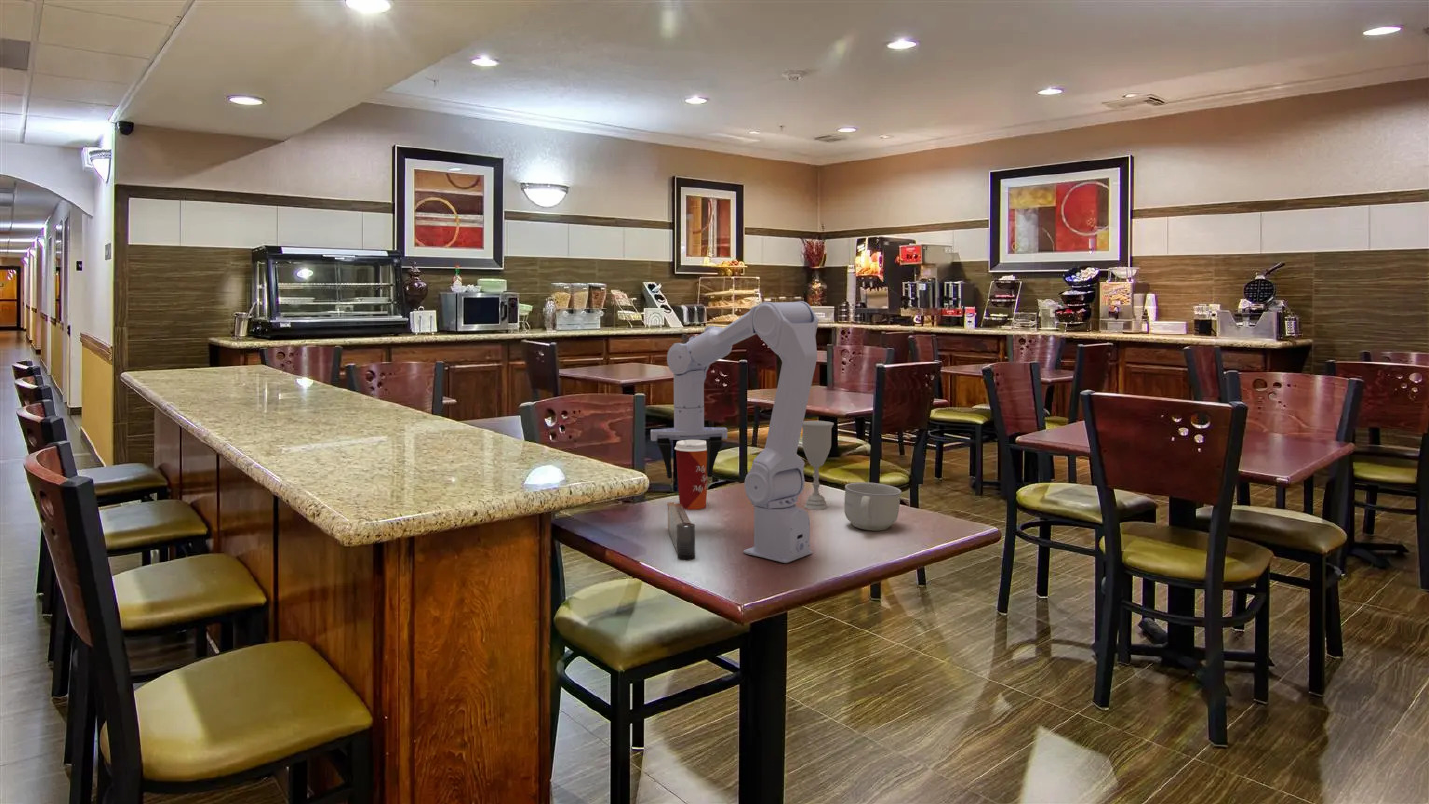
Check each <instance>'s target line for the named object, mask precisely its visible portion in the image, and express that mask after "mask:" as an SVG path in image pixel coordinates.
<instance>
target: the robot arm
mask: <svg viewBox="0 0 1429 804" xmlns="http://www.w3.org/2000/svg"><path fill="white" fill-rule="evenodd" d="M818 326H819V318H818V316H817V314H816V312H815V311H814V309H813V308H812V307H811V305H810V304H809V303H808V302H806V301H802V300H798V301H786V302H783V301H781V302H780V301H779V302H777V301H776V302H774V301H773V302H771V301H762V302H761V303H758V305H755V306H752V307H750V309H749V311H748V312H746V313H744V314H743V315H742V316H740V317H738V318H736V320H733V321H732V322H731V323H729V324H727V326H725V327H724V328H722V327H720V326H714V325H710V326H709V325H708V326H706V327H704V331H703V332H702V333H700V334H699V335H697V336H691V337H690V338H688V341H687V342H686V343H681V342H674V343H673V344H672V346H671V347H669V349H668V350H667V353H666V354H667V355H666V363H667V366H668V369H669V370H670V371H671V373H673V427H671V428H669V427H668V428H658V429H657V428H656V429H650V441H651V442H656V445H657V446H658V449H659V451H660V453H661V455H662V459H663V462H664V465H665V471H666V478H667V479H672V478H673V470H672V444H671V441H675V440H677V441H681V440H705V441H706V445H707V466H706V474H707V476H708V478H712V476H713V470H714V466H715V463H716V460H717V458H718V457H717V456H718V454H719V452H720V450H721V448H722V446H723V444H724V443H723V440H727V439H728V428H726V427H711V426H710V427H707V426H705V392H704V390H705V382H706V379H707V371H708V370H709V368H710V365H711V364H713V363H716V362H717V361H719V360H721V359H723V358H725V357H726V356H728V355H729V354H730V353H731V352H732V349H733V345H736V344H738V343H741V342H742V341H744V340H746V339H749V338H750V337H753V336H755V335H757V336H758V337H759V338H760V339H761V340H762V341H763V342H764V343H765V345H767V346H768V347H769V348H770V349H771V351H773V353H775V354H776V356H778V357H779V358H780V360H781V362H782V363H781V368H780V372H779V376H778V377H779V378H778V383H777V389H776V392H775V396H774V401H773V407H772V412H771V416H770V421H769V426H768V431H767V436H766V441H765V446H764V448H763V449H762V451H761V452H760V453H759V454H758V455H756V457H755V458H754V459H753V461H752V465H751V468H750V469H749V471H748V472H747V474H746V476H745V479H744V484H743V485H744V492H745V494H746V497H747V498H748V500H749V501H750V503H751V506H753V546H752V547H750V548H747V549H743V554H746V555H751V556H754V557H758V558H763V559H767V560H770V561H776V562H779V563H783V564H788V563H791V562H792V561H797V560H798V559H801V558H803V557H805V556H808V555H812V554H813V551H812V550H810V546H811V545H810V544H811V543H810V542H811V540H810V539H811V538H810V536H811V532H810V530H811V520H810V515H809V512H807V510H805V509H803V508H801V507H799V506H798V505H796V503H798V502H799V500H798V499H799V496H800V495H801V494H802V493H803V491H804V488H805V483H806V482H805V475H804V467H805V463H806V462H805V461H804V460H803V459H802V458H801V456H800V455H798V454H797V453H798V448H799V442H800V440H801V439H800V438H801V435H802V426H803V421H805V420H804V419H805V417H806V416H805V415H806V411H807V406H808V401H809V398H810V393H811V390H812V389H811V388H812V385H813V379H814V375H815V370H816V364H817V360H818V359H817V358H818V350H817V339H816V334H817V332H818V331H817V329H818Z"/></svg>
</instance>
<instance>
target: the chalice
mask: <svg viewBox="0 0 1429 804" xmlns="http://www.w3.org/2000/svg"><path fill="white" fill-rule="evenodd" d="M834 424H835V423H834V422H831V421H825V420H804V421H803V426H802V430H801V435H802V441H801V445H802V448H803V452H804V454H805V457H806V459H807V461H808V463H809V465H810V466H812V467H813V474H812V477H813V483H812V486H813V492H812V494H811V495H810V494H809V496H808V497H807V499H806V501H805V504H804V506H803V507H804V508H806V509H809V510H814V511H815V510H816V511H817V510H818V511H819V510H826V509H828V508H829V506H828V504H827V501H826V500H825V499H826V498H825V497H824V495H821V493H820V492H819V487H820V486H821V483H820V480H819V478H820V477H821V475H820V471H819V469H820V467H822V466H823V465H824V464H825V462H826V460H827V459H828V455H829V454H830V450H831V448H832V428H833V427H834Z"/></svg>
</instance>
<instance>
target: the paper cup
mask: <svg viewBox="0 0 1429 804" xmlns="http://www.w3.org/2000/svg"><path fill="white" fill-rule="evenodd" d="M674 450H675V454H676V455H675V456H676V473H677V485H678V499H679V504H682V506H683V508H684V510H685V511H686V510H687V511H689V510H690V511H692V510H693V511H695V510H696V511H697V510H703V509H705V508H706V507H707V493H708V478H709V477H708V476H707V474H706V466H707V445H706V440H705V439H683V440H677V441H676V444H675V447H674Z"/></svg>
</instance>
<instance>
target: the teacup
mask: <svg viewBox="0 0 1429 804" xmlns="http://www.w3.org/2000/svg"><path fill="white" fill-rule="evenodd" d="M901 495H902V490H901V489H900V488H899V487H895V486H893V485H889V484H884V483H879V482H878V483H876V482H868V481H867V482H851V483H846V484H845V485H844V503H843V504H844V515H845V518H846V519H847V520H848V521H849V522H850V523H851V525H853V527H855V528H856V529H861V530H865V531H873V532H874V531H878V532H879V531H885V530H887V529H889V528H890V527H891V526H892V525H894V524H895V523H896V521H897V520H898V517H899V511H900V503H901Z"/></svg>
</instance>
